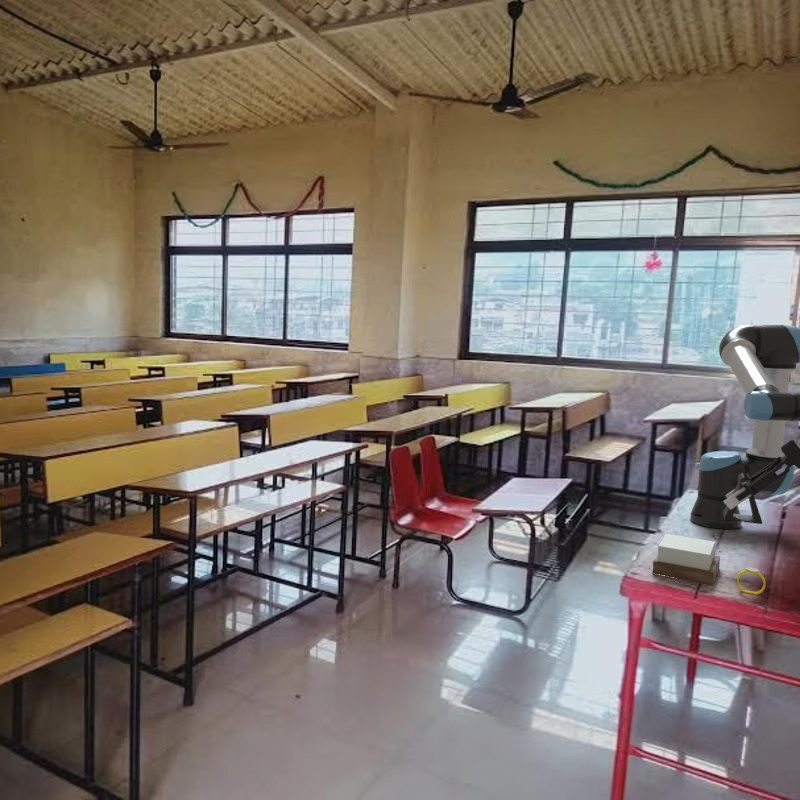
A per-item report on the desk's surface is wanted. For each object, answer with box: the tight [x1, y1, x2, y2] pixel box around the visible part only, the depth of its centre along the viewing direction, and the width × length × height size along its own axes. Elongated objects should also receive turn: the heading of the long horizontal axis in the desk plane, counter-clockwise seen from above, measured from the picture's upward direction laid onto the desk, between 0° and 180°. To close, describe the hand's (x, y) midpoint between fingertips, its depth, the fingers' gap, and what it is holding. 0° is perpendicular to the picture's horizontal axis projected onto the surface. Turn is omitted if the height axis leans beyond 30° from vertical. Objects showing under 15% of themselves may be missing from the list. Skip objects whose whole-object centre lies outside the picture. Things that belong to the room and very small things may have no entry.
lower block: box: [652, 554, 721, 587], centre depth 169 cm, size 14×14×4 cm
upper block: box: [657, 533, 716, 571], centre depth 168 cm, size 12×12×4 cm
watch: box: [736, 566, 766, 596], centre depth 155 cm, size 6×3×6 cm, turn 61°
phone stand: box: [723, 473, 763, 525], centre depth 175 cm, size 9×6×12 cm, turn 66°
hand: (728, 502), depth 177 cm, fingers closed on phone stand, 6 cm apart
